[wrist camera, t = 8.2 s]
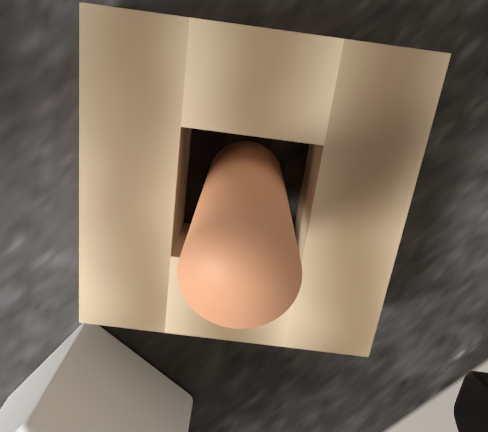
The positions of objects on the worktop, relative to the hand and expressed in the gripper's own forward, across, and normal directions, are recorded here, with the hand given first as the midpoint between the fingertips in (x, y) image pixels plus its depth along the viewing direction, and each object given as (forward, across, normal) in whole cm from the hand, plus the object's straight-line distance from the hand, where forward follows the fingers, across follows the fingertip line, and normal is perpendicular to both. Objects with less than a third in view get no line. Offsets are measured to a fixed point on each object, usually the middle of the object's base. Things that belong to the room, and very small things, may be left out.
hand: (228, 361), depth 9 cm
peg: (+12, 0, 0) cm, 12 cm away
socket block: (+12, 0, 0) cm, 12 cm away
